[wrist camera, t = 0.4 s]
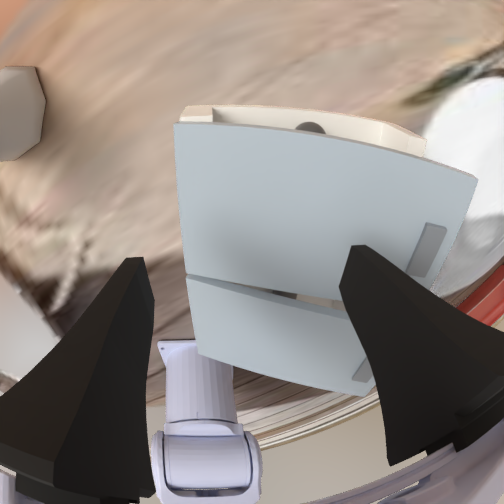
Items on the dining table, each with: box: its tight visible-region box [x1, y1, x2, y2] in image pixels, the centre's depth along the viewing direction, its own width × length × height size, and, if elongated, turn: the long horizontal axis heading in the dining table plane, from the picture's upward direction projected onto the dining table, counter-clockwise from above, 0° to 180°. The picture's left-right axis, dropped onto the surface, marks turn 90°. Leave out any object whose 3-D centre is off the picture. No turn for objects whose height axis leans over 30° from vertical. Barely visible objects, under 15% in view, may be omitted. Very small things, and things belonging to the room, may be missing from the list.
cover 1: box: [174, 121, 478, 301], centre depth 13 cm, size 9×14×1 cm, turn 87°
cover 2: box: [186, 274, 376, 397], centre depth 18 cm, size 9×14×1 cm, turn 87°
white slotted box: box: [180, 105, 427, 311], centre depth 19 cm, size 18×14×4 cm
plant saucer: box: [456, 265, 504, 326], centre depth 36 cm, size 18×18×3 cm
